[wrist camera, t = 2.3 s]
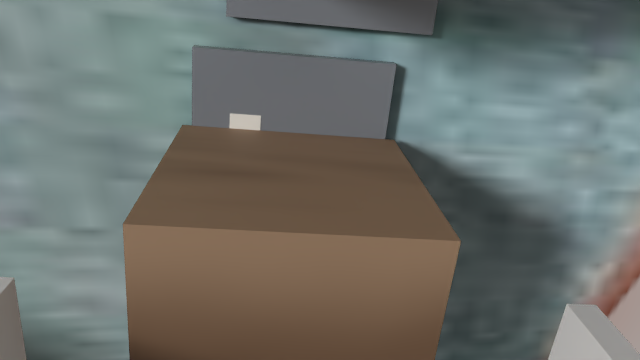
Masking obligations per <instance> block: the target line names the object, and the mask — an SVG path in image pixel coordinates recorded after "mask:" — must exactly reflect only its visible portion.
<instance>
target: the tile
mask: <svg viewBox="0 0 640 360" xmlns="http://www.w3.org/2000/svg"><path fill="white" fill-rule="evenodd" d="M395 70H396V64H395V63H394V62H383V61H372V60H360V59H348V58H337V57H325V56H314V55H302V54H290V53H279V52H267V51H256V50H244V49H232V48H221V47H209V46H198V45H194V46H193V47H192V126H204V127H218V128H232V129H247V130H261V131H275V132H289V133H303V134H318V135H332V136H346V137H360V138H374V139H385V137H386V131H387V124H388V117H389V111H390V104H391V97H392V91H393V84H394V77H395Z"/></svg>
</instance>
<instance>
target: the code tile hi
mask: <svg viewBox="0 0 640 360" xmlns="http://www.w3.org/2000/svg"><path fill="white" fill-rule="evenodd" d="M437 5H438V0H227V10H226V16H230V17H240V18H251V19H262V20H273V21H284V22H294V23H305V24H316V25H327V26H338V27H348V28H359V29H370V30H381V31H392V32H402V33H413V34H424V35H432V34H433V28H434V22H435V16H436V11H437Z"/></svg>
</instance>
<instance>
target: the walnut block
mask: <svg viewBox="0 0 640 360" xmlns="http://www.w3.org/2000/svg"><path fill="white" fill-rule="evenodd" d="M123 236H124V256H125V275H126V295H127V314H128V334H129V353H130V360H435V355H436V351H437V346H438V342H439V338H440V333H441V329H442V324H443V320H444V315H445V311H446V306H447V302H448V297H449V293H450V288H451V284H452V279H453V275H454V271H455V266H456V262H457V257H458V253H459V248H460V244H461V240H460V239H459V237H458V236H457V234H456V233H455V231H454V230H453V228H452V227H451V225H450V224H449V222H448V221H447V219H446V218H445V216H444V215H443V213H442V212H441V210H440V209H439V207H438V206H437V204H436V203H435V201H434V200H433V198H432V197H431V195H430V193H429V192H428V190H427V189H426V187H425V186H424V184H423V183H422V181H421V180H420V178H419V177H418V175H417V174H416V172H415V171H414V169H413V168H412V166H411V165H410V163H409V162H408V160H407V159H406V157H405V156H404V154H403V153H402V151H401V150H400V148H399V147H398V145H397V144H396V142H395V141H394V140H389V139H374V138H360V137H346V136H332V135H318V134H303V133H289V132H275V131H261V130H247V129H232V128H218V127H204V126H190V125H182V127H181V128H180V130H179V132H178V133H177V135H176V137H175V138H174V140H173V142H172V143H171V145H170V147H169V148H168V150H167V152H166V153H165V155H164V157H163V158H162V160H161V162H160V163H159V165H158V167H157V168H156V170H155V172H154V173H153V175H152V177H151V178H150V180H149V182H148V183H147V185H146V187H145V188H144V190H143V192H142V193H141V195H140V197H139V198H138V200H137V202H136V203H135V205H134V207H133V208H132V210H131V212H130V213H129V215H128V217H127V218H126V220H125V221H124V223H123Z"/></svg>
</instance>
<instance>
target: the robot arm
mask: <svg viewBox="0 0 640 360" xmlns="http://www.w3.org/2000/svg"><path fill="white" fill-rule="evenodd" d="M0 360H27V359H26V352H25V346H24V339H23V333H22V326H21V320H20V313H19V306H18V300H17V293H16V287H15V280H14V278H8V277H0ZM548 360H640V354H639V353H638V352H637V350H636V349H635V348H634V347H633V346H632V345H631V344H630V343H629V342H628V340H627V339H626V338H625V337H624V336H623V335H622V334H621V333H620V331H619V330H618V329H617V328H616V327H615V326H614V325H613V324H612V322H611V321H610V320H609V319H608V318H607V317H606V316H605V315H604V313H603V312H602V311H601V310H600V309H599V308H598V307H597V306H596V305H584V304H567V305H566V308H565V311H564V314H563V317H562V320H561V323H560V326H559V329H558V332H557V335H556V338H555V340H554V343H553V346H552V349H551V352H550V355H549V358H548Z"/></svg>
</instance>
